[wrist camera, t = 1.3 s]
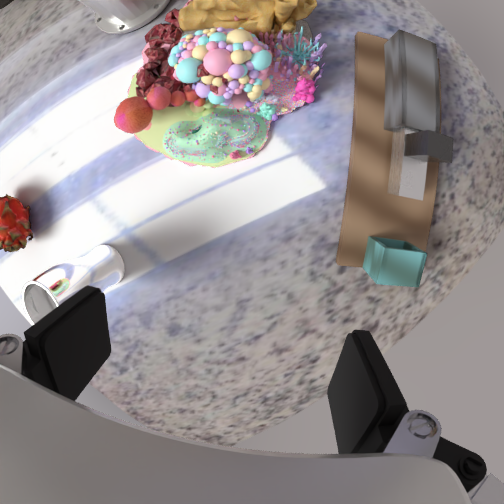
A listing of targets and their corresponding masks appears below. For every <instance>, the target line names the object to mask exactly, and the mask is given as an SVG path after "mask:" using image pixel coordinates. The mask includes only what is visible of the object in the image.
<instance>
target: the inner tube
mask: <svg viewBox="0 0 504 504" xmlns="http://www.w3.org/2000/svg"><path fill="white" fill-rule="evenodd" d="M452 151H453V138H451V137H448V136H445V135H442V134H440V133H437V132H434V131H431V130H425V131H419V130H415V129H412V128H409V127H405V126H403V127H399V128H395V129H393V142H392V154H391V165H390V175H389V183H388V191H387V193H390V194H394V195H398V196H403V197H408V198H412V199H417V200H422V201H423V196H424V188H425V180H426V171H427V162H445V163H452Z"/></svg>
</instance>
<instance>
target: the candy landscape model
mask: <svg viewBox="0 0 504 504" xmlns="http://www.w3.org/2000/svg"><path fill="white" fill-rule="evenodd" d="M316 6H317V2H316V0H189V1H188V2H187V3H186V5H185V6H184V7H183V8H182V9H180V11H179V10H177V9H173V10H172V11H170V12H169V13H168V14H167V15H166V18H165V21H167V22H170V23H171V24H170V25H168V24H162V23H161V24H158V25H155V26H154V27H153V28H152V29H151V30H150V31H149V32H148V33H147V34H146V35H145V40H146V43H147V45H146V46H145V48H144V50H143V51H142V56H143V60H144V65H143V67H141V68H140V69H139V70H138V72H137V73H135V75H133V77H132V82H131V85H130V87H129V89H128V98H127V99H125V100H124V101H122V102H121V103H120V105H119V106H118V108H117V110H116V114H115V117H114V123H115V125H116V127H118V128H119V129H121V130H123V131H124V132H127V133H132V134H133V133H134V135H135V138H136V139H137V140H140V141H141V142H143V143H144V144H145V146H146V147H147V148H149V149H151V150H153V151H155V152H161V153H163V154H164V155H165V157H168V158H169V159H171V160H174V159H175V160H179V161H181V162H183V163H184V164H187V165H189V166H195V165H202V166H210V167H212V168H216V167H220V166H223V165H227V164H230V163H234V162H237V161H240V160H244V159H248V158H251V157H253V156H254V155H255V153H256V152H258V151H260V150H261V149H262V147H263V145H264V144H265V142H266V141H267V139H268V131H269V129H270V123H271V122H272V121H276V120H277V119H278V116H279V115H283V114H288V113H291V112H292V110H295V108H297V107H301V106H303V105H304V103H305V102H307V103H312V102H313V101H314V95H313V93H314V91H315V90H316V89H317V87H318V86H319V85H317V86H316V88H315V86H314V85H315V82H317V80H318V79H319V78H320V77H322V75H321V74H322V73H323V71H322V70H323V69H321V70H320V71H319V68H320V67H319V66H318V64H319V62H317V61H320V59H321V58H322V56H323V55H322V53H323V51H324V49H325V48H326V47H327V44H326V43H324V44H323V45H322V46H321V47H320V48H319V47H318V46H319V42H318V41H319V39H320V38H321V33H320V34H318V35H317V36H316V37H315V41H314V42H313V44H314V45H315V46H313V47H312V38H313V36H312V33H311V31H310V28H309V25H308V23H307V22H306V21H304V20H302V19H304V18H307V17H308V16H309V15H310V14H311V13H312V11H313V10H314V8H315V7H316ZM316 47H317V51H316V52H315V48H316ZM316 62H317V65H316V64H315V63H316ZM324 64H325V63H323V64H322V66H321V68H322V67H323V65H324ZM318 71H319V72H320V73H319V75H318V76H317V77H316V79H315V81H313V77H314V75H315V74H316V73H317V72H318ZM321 71H322V72H321Z"/></svg>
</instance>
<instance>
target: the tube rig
mask: <svg viewBox="0 0 504 504" xmlns="http://www.w3.org/2000/svg"><path fill="white" fill-rule="evenodd" d="M403 126H405V127H409V128H412V129H415V130H419V131H425V130H431V131H434V132H437V133H440V134H441V83H440V68H439V59H438V58H437V49H436V44H435V43H433V42H430V41H428V40H426V39H423V38H421V37H418V36H416V35H413V34H410V33H408V32H405V31H402V30H398V31H397V32H396V33H395V34H394V35H393V36H392V37H391V38H390V39H389V40H387V39H384V38H381V37H377V36H374V35H370V34H366V33H362V32H357V34H356V35H355V90H354V112H353V127H352V141H351V152H350V162H349V172H348V181H347V189H346V197H345V205H344V212H343V219H342V226H341V232H340V239H339V245H338V251H337V257H336V262H337V264H338V265H342V266H352V267H362V268H363V269H364V270H365V271H366V272H367V273H368V274H369V276H370V277H371V278H372V279H373V280H374V281H375V283H376V284H383V285H396V286H409V287H419V284H420V280H421V277H422V273H423V269H424V265H425V261H426V257H427V253H426V252H425V251H426V246H427V241H428V237H429V232H430V226H431V221H432V215H433V209H434V202H435V195H436V187H437V179H438V169H439V162H427V171H426V180H425V188H424V196H423V201H422V200H417V199H412V198H408V197H403V196H398V195H394V194H390V193H387V191H388V183H389V175H390V165H391V154H392V142H393V129H395V128H399V127H403Z"/></svg>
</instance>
